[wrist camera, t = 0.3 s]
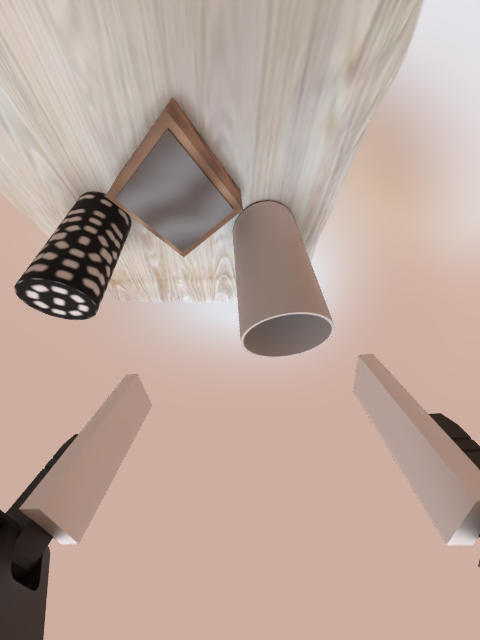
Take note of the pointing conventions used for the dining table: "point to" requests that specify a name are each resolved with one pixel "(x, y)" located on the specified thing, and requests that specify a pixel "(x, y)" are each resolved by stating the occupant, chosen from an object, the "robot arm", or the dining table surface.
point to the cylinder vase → (276, 285)
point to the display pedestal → (176, 184)
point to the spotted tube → (77, 260)
